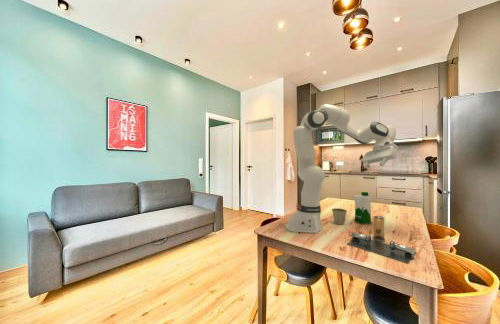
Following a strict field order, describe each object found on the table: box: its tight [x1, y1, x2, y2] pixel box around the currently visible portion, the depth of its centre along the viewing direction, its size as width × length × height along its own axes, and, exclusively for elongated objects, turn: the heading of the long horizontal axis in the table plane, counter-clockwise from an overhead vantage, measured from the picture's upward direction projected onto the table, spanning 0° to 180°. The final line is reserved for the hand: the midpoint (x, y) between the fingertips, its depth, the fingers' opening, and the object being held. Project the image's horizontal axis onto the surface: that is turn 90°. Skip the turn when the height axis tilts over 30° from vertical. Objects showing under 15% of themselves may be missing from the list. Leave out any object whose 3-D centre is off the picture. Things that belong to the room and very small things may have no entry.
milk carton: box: [353, 191, 373, 225], centre depth 131 cm, size 9×9×20 cm
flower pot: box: [331, 208, 348, 225], centre depth 131 cm, size 9×9×9 cm
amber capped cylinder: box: [372, 215, 386, 243], centre depth 103 cm, size 5×5×12 cm
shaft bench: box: [346, 231, 417, 264], centre depth 93 cm, size 25×14×5 cm, turn 40°
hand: (374, 166), depth 116 cm, fingers open, 8 cm apart
